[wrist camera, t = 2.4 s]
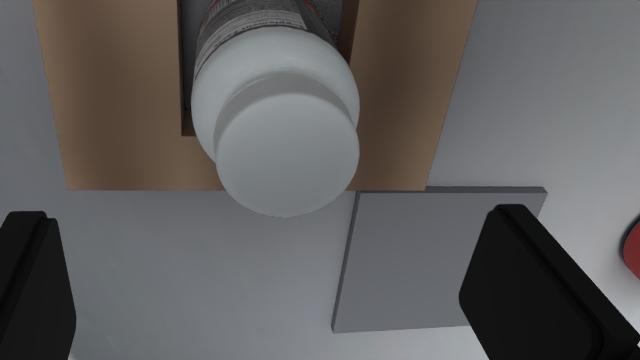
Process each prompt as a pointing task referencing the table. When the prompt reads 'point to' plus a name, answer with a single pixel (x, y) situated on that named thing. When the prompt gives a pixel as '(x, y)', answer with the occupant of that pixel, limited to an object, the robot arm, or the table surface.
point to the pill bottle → (275, 105)
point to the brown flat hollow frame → (176, 122)
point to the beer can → (633, 250)
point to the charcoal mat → (415, 255)
